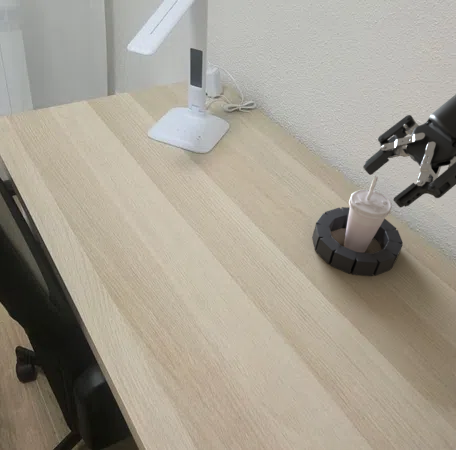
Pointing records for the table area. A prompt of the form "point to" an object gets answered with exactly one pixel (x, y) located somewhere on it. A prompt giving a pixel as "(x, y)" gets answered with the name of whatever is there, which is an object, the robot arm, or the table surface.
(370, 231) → the smoothie
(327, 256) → the tire
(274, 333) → the table surface
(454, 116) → the robot arm
